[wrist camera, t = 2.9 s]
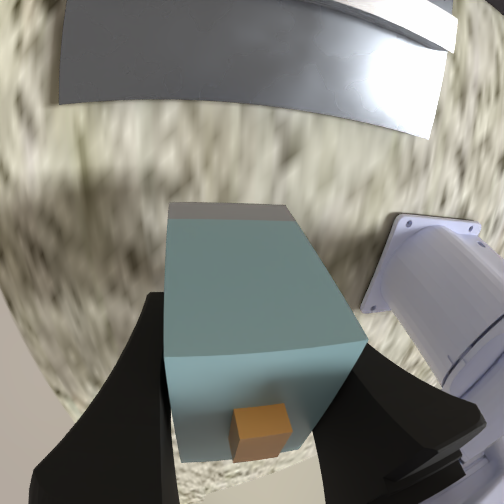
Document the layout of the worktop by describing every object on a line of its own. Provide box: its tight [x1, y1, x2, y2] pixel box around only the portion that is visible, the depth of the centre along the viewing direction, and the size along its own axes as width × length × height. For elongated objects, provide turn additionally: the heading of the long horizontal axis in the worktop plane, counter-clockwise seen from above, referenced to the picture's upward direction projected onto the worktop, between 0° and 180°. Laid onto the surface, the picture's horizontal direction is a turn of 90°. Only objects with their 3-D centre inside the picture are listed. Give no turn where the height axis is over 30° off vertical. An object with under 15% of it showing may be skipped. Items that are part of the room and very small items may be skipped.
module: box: [164, 202, 369, 463], centre depth 9 cm, size 4×6×7 cm, turn 172°
